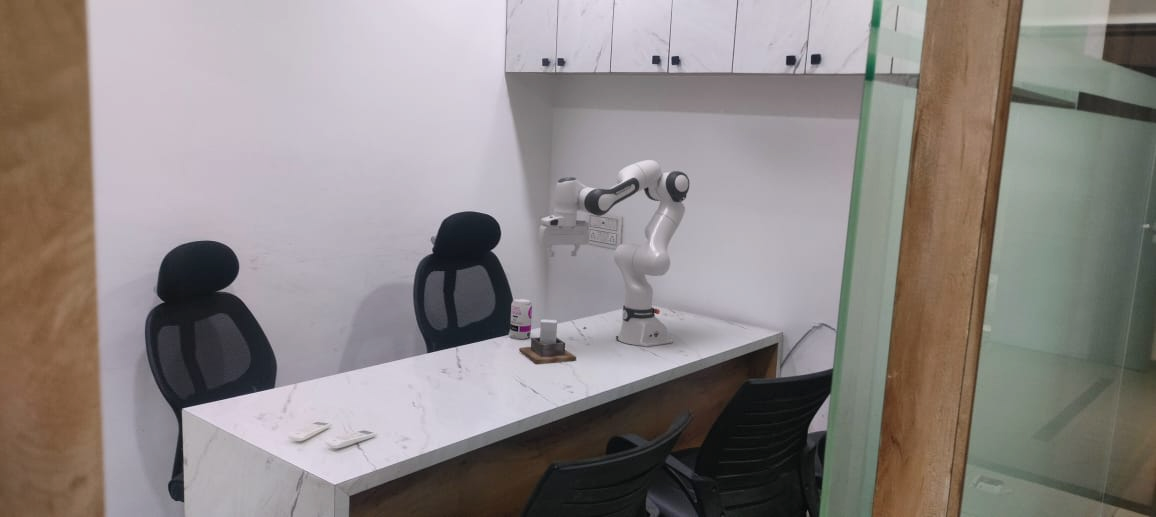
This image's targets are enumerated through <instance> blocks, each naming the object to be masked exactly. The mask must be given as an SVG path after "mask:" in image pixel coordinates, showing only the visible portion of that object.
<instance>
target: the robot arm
mask: <svg viewBox="0 0 1156 517" xmlns="http://www.w3.org/2000/svg"><path fill="white" fill-rule="evenodd" d="M616 180H617V181H616V183H617V184H615V185H614V186H612V187H609V188H606V189H605V188H596V187H591V186H587V185H585V184H583V183H581V182H580V181H579V180H578V178H576V177H571V176H570V177H562V178H560V179H559V180H557V182H556V184H555V191H554V200H553V201H554V209H553V214H552V215H549V216H545V217H542V218H541V219H540V223H541V225H540V227H539V228H538V235H537V242H538V244H539V245H542V246H546V249H547V251H548V257H555V251H553V249H552V248H553V246H554V245H555V246H562V245H563V246H567V245H568V246H571V245H573V246H574V249H573V250H571V252H570V253H571V254H570V255H571V256H572V257H577V255H578V254H577V253H578V251H579V249H580V248H581V246H583V245H584V246H585V245H588V243H589V241H590V236H589V235H590V234H589V229H590V223H589V222H588V221H586V220H579V219H577V218H578V217H577V216H578V211H580V212H584V213H588V214H592V215H595V216H598V217H599V216H603V215H606V214H607V213H609V212H610V210H611V209H612V208H613V207H614V206H615V205H617V204H619V203H620V202H622V201H625V200H626V199H628V198H630V197H632V196H633V195H635V194H636V193H638V192H641V191H642V190H643V191H644V194H645V196H646V197H647V198H648V199H649V200H651V201H656V202H659V205H658V208H657V210H656V211H655V212H654V214H653V216H652V217H651V219H650V220H649V222H648V223H647V224H646V226H645V228H644V235H645V238H646V239H647V242H646V244H644V245H642V244H641V245H640V244H635V243H622V244H620V245H618V246H617V247H616V248H615V250H614V253H613V260H614V263H615V265H616V266H617V267H618V268H619V270H620V273H621V275H622V278H623V282H624V304H623V308H622V322H621V327H620V331H619V334H618V337H617V340H618V341H619V342H622V343H624V344H628V345H633V346H635V345H636V346H639V347H646V348H647V347H653V346H659V345H667V344H672V343H673V339H672V337H670V336H668V329H667V326H666V325H665V324H664V323H663V321H661V320H660V319H658V318H657V317H656V316H655V315H660V313H661V311H660V309H659V308H654V307H653V295H654V290H653V287H652V285H651V284H650V283H649V281H648V279H647V278H646V276H650V277H651V276H652V277H657V276H658V277H660V276H661V277H662V276H664V275H666V274H667V272H668V271H669V269H670V266H671V259H670V256H669V253H668V246H669V244H670V241H671V239H672V238H673V236H674V234H675V233H676V231H677V230H678V228H679V227H680V225H681V222H682V220H683V217H684V214H685V211H686V207H685V204H684V203H683V202H684V201H685V199H687V195H688V192H689V190H690V184H691V183H690V178H689V176H688V174H686V173H685V172H683V171H679V170H673V171H668V172H663V171H662V169H661V166H660V164H659V163H658V161H656V160H653V159H646V160H641V161H637V162H635V163H632V164H629V165H627V166H625V167H623V168H622V169H621V170H619V171H618V173H617V177H616Z"/></svg>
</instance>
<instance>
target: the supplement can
mask: <svg viewBox="0 0 1156 517" xmlns="http://www.w3.org/2000/svg"><path fill="white" fill-rule="evenodd" d="M510 305H511V307H510V308H511V309H510V325H509V329H510V330H509V336H511V338H512V337H513V338H512V339H515V338H516V340H526V339H525V338H527V339H529V338H531V334H532V333H531V332H532V319H533V318H532V316H533V315H532V314H533V303H532V301H531V299H528V298H522V297H521V298H514V299H513V300H512V302H511V304H510ZM528 337H529V338H528Z"/></svg>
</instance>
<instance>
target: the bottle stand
mask: <svg viewBox="0 0 1156 517" xmlns="http://www.w3.org/2000/svg"><path fill="white" fill-rule="evenodd" d="M518 349H519V351H520V352H521V353H520V352H519V353H520V354H522V355H523V356H524V355H525V356H524V357H526V358H527V359H528V358H529V359H528V360H530V361H531V362H532V361H533V362H532V363H533V364H534V365H543V364H556V363H565V362H566V363H567V362H577V356H576V355H574V354H573V353H572V352H570V351H568V350H566V342H564V341H562V339H560V338H559V337H557V336H556V343H552V344H542V343H540V336H539V337H537V336H536V337H530V346H526V347H525V346H524V347H519V348H518Z"/></svg>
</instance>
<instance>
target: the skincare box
mask: <svg viewBox="0 0 1156 517" xmlns="http://www.w3.org/2000/svg"><path fill="white" fill-rule="evenodd" d="M557 330H558V321H557V319H543V318H542V319H540V330H539V331H540V332H539V334H540V335H539V337H540V343H542V344H552V343H556V337H557V332H558V331H557Z"/></svg>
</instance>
